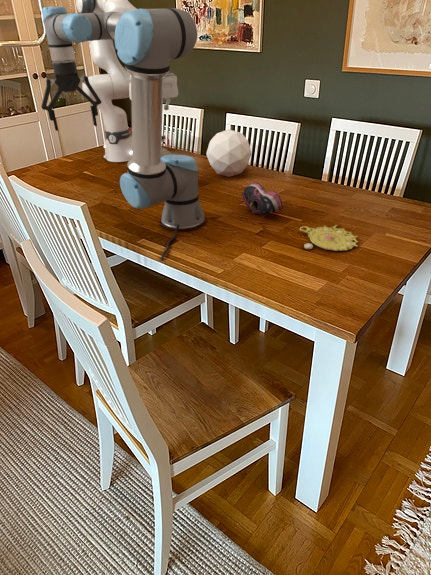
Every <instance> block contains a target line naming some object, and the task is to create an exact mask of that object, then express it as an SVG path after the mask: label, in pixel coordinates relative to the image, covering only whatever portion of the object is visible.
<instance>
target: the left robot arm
mask: <svg viewBox="0 0 431 575" xmlns="http://www.w3.org/2000/svg"><path fill="white" fill-rule="evenodd" d="M75 8H76V11H77V13H104V12H120V13H125V12H127V11H130V10H137V9H138V8H137V7H136V6H134V5H133V4H132V3H131V2H130V1H129V0H75ZM87 43H88V47H89V51H90V56H91V60H92V63H93V64H94V65H95V66H96V67H97V68H99V69H102V70H104V71H105V72H106V73H103V74H101V73H100V74H93V75H89V76H87V77H88V80H89V83H90V85H91V86H92V88H93V89H94V91H95V92H96V94H97V96H98V97H99V99H100V100H101V102H102V103H101V104H99V105H97V109H98V110H99V111H100V113H101V115H102V119H103V120H102V121H103V125H104V129H105V130H104V136H105V137H104V138H105V140H104V143H103V144H104V145H103V148H104V155H103V159H105V160H106V161H107V162H111V163H123V162H129V160H131V159H132V127H129V126H128V117H127V116H128V115H127V113H126V111H125V110H124V109H123V108H121V107H119V106H117V105H114V104H113V100H120V99H128V98H129V100H130V101H131V102H132V100H131V74H130V73H129V72H128V71H127V70H126V68H125V67H124V66H123V65H122V64H121V62H120V60H119V57H118V55H117V53H116V48H115V44H114V40H94V41H87ZM81 89H82V90H83V91H84V92H85V93H86V94H87V95H88V96H89V97H90V98H91V99H92V100H93V101H96V100H95V98H94V97H93V95H92V94H91V92H90V91H89V89H88V87H87V86H86V84H85V83H83V82H82V84H81ZM178 96H179V87H178V76H177V75H176V74H175V73H174V72H169V73H167V74H166V75H165V76H164V78H163V100H164V99H165V101H166V102H165V104H163V111H169V109H170V108H169V106H170V103H171V102H172V101H171V99H175V98H178ZM164 138H165V137H164V136H163V135H162V141H163V140H164Z"/></svg>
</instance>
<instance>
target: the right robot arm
mask: <svg viewBox="0 0 431 575" xmlns="http://www.w3.org/2000/svg"><path fill="white" fill-rule="evenodd" d="M41 13H42V22H43V25H44V31H45V35H46V39H47V44H48V48H49V54H50V59H51V61H52V62H53V63H52V69H53V74H54V79H52V78H51V79H50V78H46V79H45V85H46V86H45V90H44V92H43V93H44V94H43V98H42V101H41V106H40V107H41V109H42V110H44V111H47V114H48V118H49V120H50V121H52V122H53V125H54V130H55V131H56V132H58V131H59V127H58V123H57V118H56V113H55V110H54V109H53V108H54V107H55V105H56V103H57V101H58V99H59V98H60V96H61V95H62V93H63V92H64V93H69V92H72V93H74V92H76V91H77V92H78V93H79V94H80V95H82V97H84V98H85V99H86V100H87V101H88V102H89V103H90V104H91V105H90V112H91V117H92V124H93V126H94V127H98V124H97V123H98V122H97V116H99V111H98V110H99V109H98V106H97V105H99V104H101V103H102V102H101V100H100V99H99V97H98V96H97V94H96V92H95V91H94V89H93V88H92V86H91V85H90V83H89V80H88V77H89V76H87V75H83V76H79V73H78V68H77V62H76V61H75V59H76V57H75V50H74V46H73V43H75V44H78V43H85V42H88V41H94V40H113V41H114V48H115V51H117V53H116V55H117V57H118V59H119V60H120V61H121V62H122V63H123V64H124V69H126V70H127V71H128V72H129V73H130V74H131V100H132V101H131V100H130V101H131V128H132V132H131V136H132V159H131V160H129V161H127V165H126V166H127V168H126V169H127V172H124V173H123V174H121V176H120V178H119V187H120V190H121V193H122V195H123V197H124V198H125V200H126V201H127V203H128V204H129V205H130V206H131V207H132V208H134V209H136V210H142V209H146V208H150V207H153V206H155V205H158V204H160V203H164V204H163V209H162V213H161V219H160V220H161V225H162V227H163V228H165V229H167V230H170V231H174V233H173V235H172V237H171V238H169V239H168V241H167V242H166V248H165V250H164V251H163V252H162V254H161V256H160V262H162V261H164V258H165V255H166V253H167V252H168V251H169V249H170V243H171V242H172V241H174V239H175V238H176V237H177V233H178V232H185V231H186V232H187V231H192V230H195V229H198V228H201V227H202V226H203V225H204V224H205V223H206V216H205V212H204V210H203V208H202V204H201V202H200V196H199V173H198V172H199V170H198V162H197V160H196V159H195V158H194V157H192V156H191V155H190V156H189V155H187V154H186V155H185V154H174V155H164V156H162V158H161V148H162V147H163V146H162V145H163V144H162V143H163V140H162V136H163V134H162V133H163V111H164V99H163V78H164V76H165V75H166V74H167V73H170V67H171V65H170V64H171V60H177V59H182V58H184V57H186V56H188V55H189V54H191V52H192V51H193V50H194V48H195V46H196V44H197V40H198V26H197V24H196V22H195V20H194V17H192V15H191V14H189V13H188V12H187V11H185V10H183V9H180V8H176V7H169V8H137V10H130V11H127V12H125V13H120V12H104V13H78V12H74V13H73V12H71V13H68V12H67V9H66V7H65V6H44V7H42V10H41ZM81 82H82V84H83V83H85V84H86V86H87V87H88V89H89V91H90V92H91V94H92V95H93V97H94V98H95V100H96V101H93V100H92V99H91V98H90V97H89V96H88V95H87V94H86V93H85V92H84V91H83V89H82V87H80V86H79V85H80V83H81ZM54 84H55V85H56V86H57V88H56V91H55V93H54V94H53V96H52V98H51V99H50V102H49V101H48V100H49V97H50V93H51V88H52V87H53V86H54ZM48 102H49V103H48ZM47 104H48V105H47Z"/></svg>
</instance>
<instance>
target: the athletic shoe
mask: <svg viewBox="0 0 431 575" xmlns="http://www.w3.org/2000/svg"><path fill="white" fill-rule="evenodd" d="M241 197H242V199H243V201H238V203H239V204H241V205H245V206H246V207H247V208H248V210H249V211H250V210H251V213H252V214H255V215H260V217H266V216H267V215H270V214H274V213H275V212H279V211H282V210H283V209H284V205H283V201H282V198H281V196H280V195H279V194H278V192H277V191H274V190H269V191H267V190H266V189H265V187H264V186H263V185H262V184H261V183H258V182H251V183H249V184H247V186H246V187H245V188H244V190H243V191H242V192H241Z"/></svg>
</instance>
